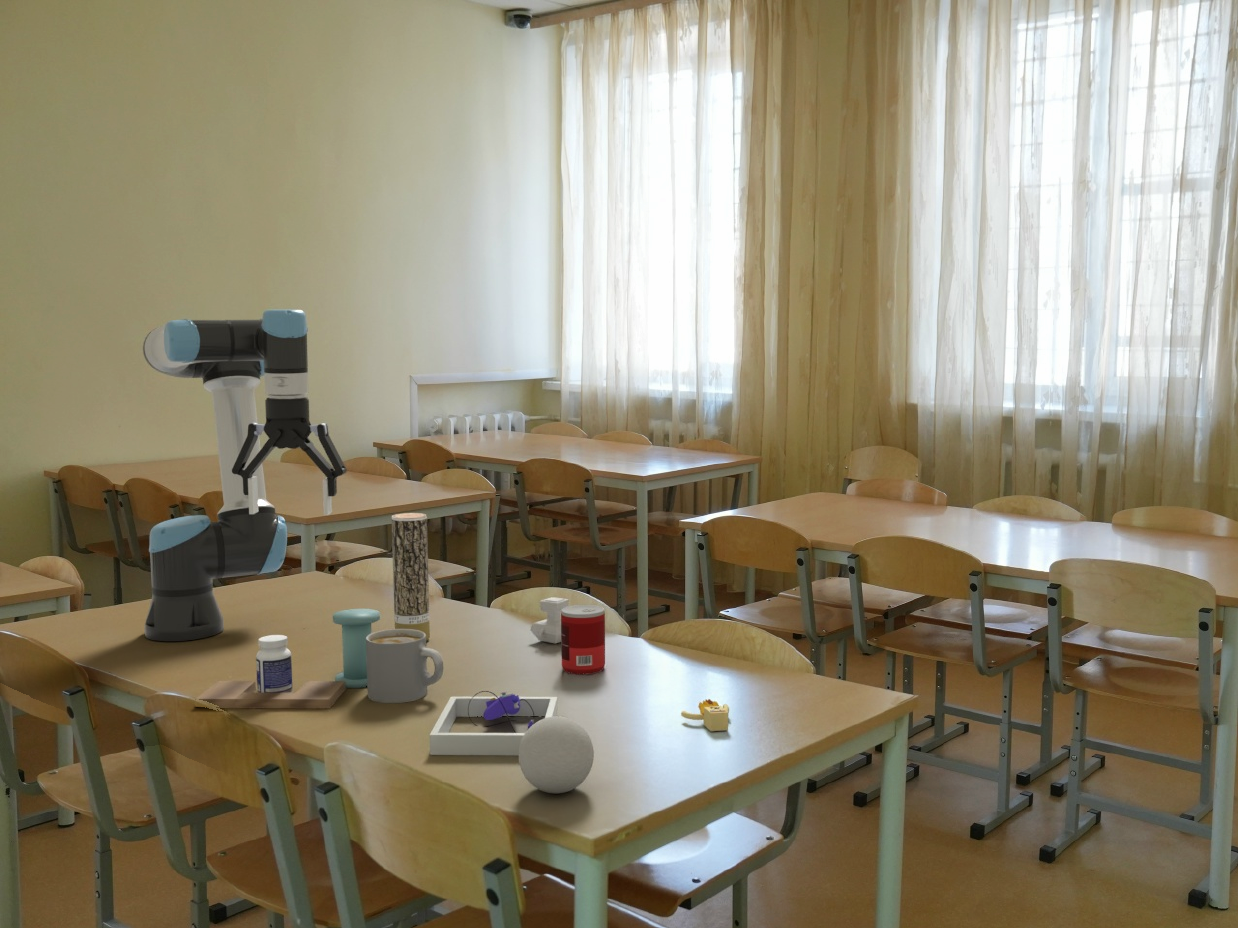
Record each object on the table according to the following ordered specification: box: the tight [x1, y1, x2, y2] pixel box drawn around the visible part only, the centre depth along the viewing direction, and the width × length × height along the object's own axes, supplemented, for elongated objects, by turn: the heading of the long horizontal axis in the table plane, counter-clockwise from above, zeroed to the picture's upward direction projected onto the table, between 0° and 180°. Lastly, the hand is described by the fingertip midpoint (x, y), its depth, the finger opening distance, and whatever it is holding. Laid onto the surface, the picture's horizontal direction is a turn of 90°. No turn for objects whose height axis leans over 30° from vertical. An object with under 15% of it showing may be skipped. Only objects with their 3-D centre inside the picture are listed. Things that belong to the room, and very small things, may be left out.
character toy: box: [680, 698, 730, 732], centre depth 186 cm, size 8×3×8 cm
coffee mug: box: [366, 628, 444, 704], centre depth 201 cm, size 13×10×10 cm
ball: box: [518, 715, 595, 795], centre depth 159 cm, size 10×10×10 cm
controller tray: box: [429, 696, 559, 756], centre depth 182 cm, size 17×18×3 cm
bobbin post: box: [332, 608, 381, 689], centre depth 209 cm, size 8×8×12 cm
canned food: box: [560, 604, 606, 675], centre depth 216 cm, size 8×8×11 cm
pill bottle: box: [255, 634, 294, 693], centre depth 201 cm, size 6×6×10 cm
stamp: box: [530, 596, 570, 644], centre depth 235 cm, size 9×7×8 cm
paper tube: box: [391, 512, 431, 642], centre depth 235 cm, size 7×7×25 cm
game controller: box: [468, 690, 535, 733], centre depth 184 cm, size 10×8×10 cm
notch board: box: [195, 680, 346, 709], centre depth 200 cm, size 22×10×2 cm, turn 88°
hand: (290, 513), depth 216 cm, fingers open, 13 cm apart
